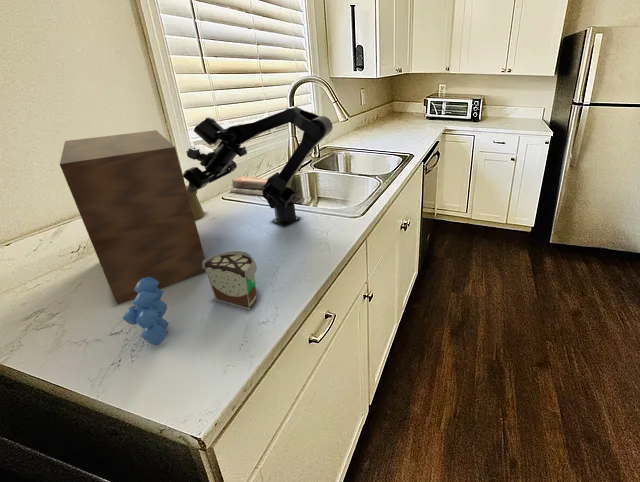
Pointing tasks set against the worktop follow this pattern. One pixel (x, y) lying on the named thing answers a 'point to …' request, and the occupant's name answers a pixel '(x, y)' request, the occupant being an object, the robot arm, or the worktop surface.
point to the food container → (232, 278)
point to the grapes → (148, 311)
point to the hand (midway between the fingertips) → (199, 186)
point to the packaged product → (248, 185)
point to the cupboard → (134, 209)
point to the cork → (195, 204)
